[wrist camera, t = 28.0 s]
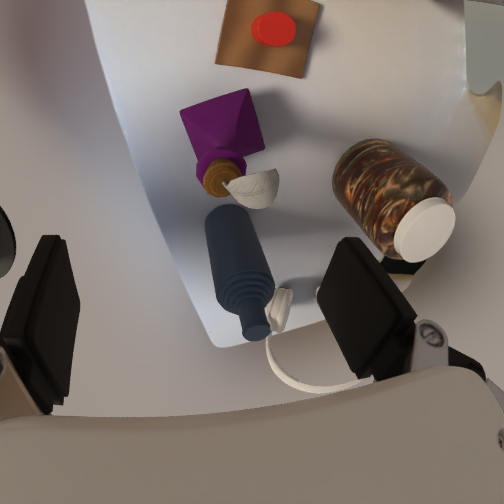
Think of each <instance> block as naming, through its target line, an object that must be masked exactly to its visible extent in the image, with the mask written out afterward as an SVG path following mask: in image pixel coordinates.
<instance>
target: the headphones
mask: <svg viewBox="0 0 504 504" xmlns="http://www.w3.org/2000/svg"><path fill="white" fill-rule="evenodd" d="M319 288H320V285H319V286H318V288H317V289H316V293H315V297H316V301H317V292H318V290H319ZM292 298H293V292H292V290H291V289H285V288H280V289H279V287H277V288H276V289H275V290H274V295H273V298H272V299H271V301H270V302H269V303H268V304H267V306H266V309H265V313H266V316H267V320H268V323H269V324H270V329H271V333H270V334H269V335H268V336H267V337H266V352H267V357H268V361H269V364H270V366H271V368H272V370H273V371H274V372H275V374H276V375H277V376H278V377H279V378H280V379H281V380H282V381H283V382H285V383H286V384H288V385H289V386H291V387H293V388H296V389H298V390H302V391H305V392H311V393H330V392H335V391H339V390H343V389H346V388H349V387H351V386H354V385H356V384H357V383H359V382H361V381H362V380H363V379H360V380H358V379H356V380H354V381H352V382H349V383H345V384H342V385H337V386H329V387H318V386H310V385H306V384H302V383H300V382H299V381H298V380H297V379H296V378H295V377H293V376H291V375H290V374H288V373H287V372H286V371H285V370H284V369H283V368H282V367H281V366H280V365H279V364H278V362H277V361H276V359H275V357H274V354H273V351H272V347H271V335H272V331H276V332H277V333H281V332H282V331H283V330H284V328H285V325H286V322H287V319H288V315H289V311H290V307H291V303H292ZM317 304H318V302H317ZM318 306H319V305H318ZM364 379H365V378H364Z"/></svg>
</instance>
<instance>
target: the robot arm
mask: <svg viewBox="0 0 504 504" xmlns="http://www.w3.org/2000/svg"><path fill="white" fill-rule="evenodd" d="M317 302H318V305H319V307H320V309H321V311H322V313H323V315H324V317H325V319H326V320H327V323H328V325H329V327H330V328H331V331H332V333H333V335H334V337H335V339H336V341H337V343H338V344H339V347H340V349H341V351H342V353H343V355H344V357H345V359H346V361H347V363H348V365H349V367H350V369H351V371H352V372H353V373H355V374H356V376H357V378H358V380H360V379H364V378H367V377H370V376H371V375H373V376H374V381H373V383H372V384H369V385H366V386H362V387H358V388H354V389H350V390H346V391H342V392H338V393H334V394H329V395H325V396H320V397H315V398H311V399H306V400H301V401H296V402H290V403H285V404H280V405H273V406H267V407H260V408H253V409H246V410H239V411H231V412H221V413H212V414H201V415H188V416H169V417H82V416H54V415H52V414H51V412H52V411H53V405H63V402H64V397H67V396H68V394H69V386H70V376H71V367H72V358H73V351H74V343H75V337H76V330H77V324H78V318H79V313H80V299H79V296H78V292H77V288H76V284H75V281H74V276H73V272H72V268H71V264H70V259H69V254H68V250H67V245H66V241H65V240H64V239H61V238H60V236H59V235H43V236H42V237H41V239H40V241H39V243H38V245H37V247H36V249H35V252H34V254H33V256H32V258H31V261H30V263H29V265H28V268H27V270H26V272H25V275H24V276H22V277H21V278H20V279H19V281H18V283H17V286H16V288H15V291H14V294H13V296H12V299H11V302H10V305H9V307H8V310H7V313H6V316H5V319H4V322H3V325H2V328H1V331H0V504H504V392H503V391H502V390H501V389H500V388H499V387H498V386H497V385H495V384H494V383H493V382H492V381H491V380H490V379H489V378H487V379H486V376H485V372H484V370H483V367H482V365H481V364H480V363H479V362H477V361H476V360H474V359H472V358H470V357H468V356H466V355H465V354H463V353H461V352H459V351H457V350H455V349H453V348H451V347H449V346H448V339H447V336H446V334H445V332H444V330H443V329H442V328H441V327H440V326H439V325H438V324H436V323H435V322H433V321H430V320H425V319H423V320H420V321H419V322H418V323H417V324H415V323H414V320H415V318H416V317H417V314H416V313H415V311H414V310H413V308H412V307H411V305H410V304H409V303H408V301H407V300H406V298H405V297H404V296H403V294H402V293H401V291H400V290H399V289H398V287H397V286H396V284H395V283H394V282H393V280H392V279H391V278H390V276H389V275H388V274H387V272H386V271H385V270H384V268H383V267H382V266H381V264H380V263H379V262H378V260H377V259H376V258H375V257H374V255H373V254H372V253H371V251H370V250H369V249H368V248H367V246H366V245H365V244H364V243H363V241H362V240H361V239H360V238H358V237H345V238H343V239H342V241H340V242H338V244H337V247H336V249H335V252H334V254H333V257H332V259H331V262H330V264H329V266H328V269H327V271H326V274H325V276H324V278H323V281H322V283H321V285H320V288H319V290H318V292H317Z"/></svg>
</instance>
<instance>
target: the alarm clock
mask: <svg viewBox="0 0 504 504" xmlns="http://www.w3.org/2000/svg"><path fill="white" fill-rule="evenodd" d="M470 1H478V2H485V3H492V4H497V5H503V6H504V0H470Z"/></svg>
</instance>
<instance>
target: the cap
mask: <svg viewBox="0 0 504 504" xmlns="http://www.w3.org/2000/svg"><path fill="white" fill-rule="evenodd" d="M251 31H252V35H253V37H254V38H255V40H256V41H258V42H259V43H261V44H263V45H266V46H279V47H280V46H284V45H287V44H288V43H290V42H291V41H292V40H293V39H294V37H295V35H296V25H295V22H294V21H293V19H292V18H291V17H290V16H288V15H287V14H285V13H282V12H269V13H266V14H264V15H261V16H259V17H257V18H256V19H255V20H254V22H253V24H252V28H251Z"/></svg>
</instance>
